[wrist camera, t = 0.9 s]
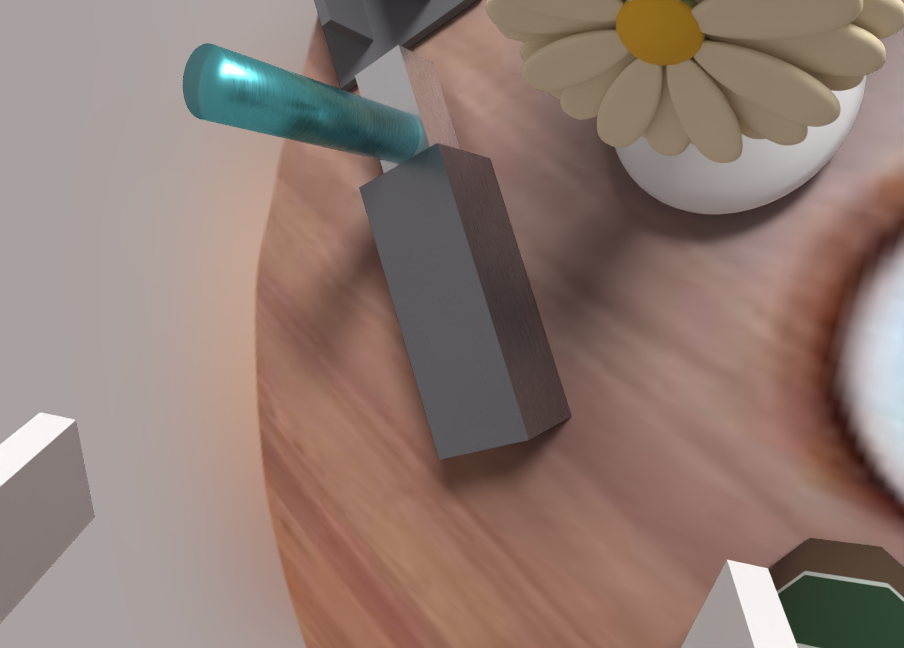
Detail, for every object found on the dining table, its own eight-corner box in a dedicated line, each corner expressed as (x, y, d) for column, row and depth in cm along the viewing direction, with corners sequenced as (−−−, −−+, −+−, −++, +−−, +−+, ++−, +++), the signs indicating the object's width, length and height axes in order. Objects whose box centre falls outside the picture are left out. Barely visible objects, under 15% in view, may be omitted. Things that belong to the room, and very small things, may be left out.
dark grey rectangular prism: (490, 158, 39) (437, 142, 34) (571, 416, 37) (528, 440, 32) (417, 196, 42) (359, 187, 37) (489, 435, 40) (439, 459, 35)
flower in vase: (579, 140, 35) (198, -40, 14) (714, -58, 31) (443, -742, 10) (773, 281, 31) (623, 317, 10) (966, 72, 26) (1473, -715, 5)
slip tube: (432, 61, 39) (199, -54, 25) (527, 363, 37) (333, 424, 23) (391, 89, 41) (152, -3, 27) (478, 378, 39) (272, 442, 25)
